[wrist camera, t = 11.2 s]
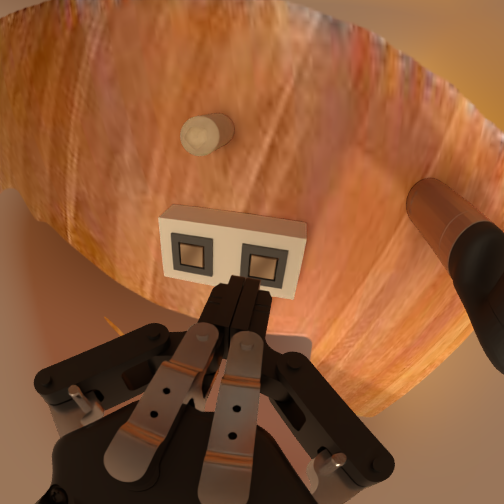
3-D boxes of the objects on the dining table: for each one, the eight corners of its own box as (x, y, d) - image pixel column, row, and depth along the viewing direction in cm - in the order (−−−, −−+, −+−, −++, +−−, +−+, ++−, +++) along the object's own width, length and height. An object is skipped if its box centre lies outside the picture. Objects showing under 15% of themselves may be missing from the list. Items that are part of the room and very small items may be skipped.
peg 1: (214, 229, 50) (202, 247, 44) (214, 248, 52) (202, 267, 46) (193, 226, 50) (179, 243, 44) (194, 245, 52) (181, 263, 46)
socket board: (306, 222, 46) (306, 241, 40) (295, 279, 52) (293, 301, 47) (173, 204, 48) (156, 218, 43) (176, 259, 55) (163, 277, 49)
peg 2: (280, 239, 48) (276, 259, 43) (277, 258, 50) (273, 280, 45) (257, 236, 49) (251, 255, 43) (255, 255, 51) (249, 276, 45)
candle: (233, 147, 41) (215, 159, 33) (200, 144, 42) (175, 157, 33) (236, 114, 38) (217, 117, 30) (202, 112, 39) (176, 116, 31)
